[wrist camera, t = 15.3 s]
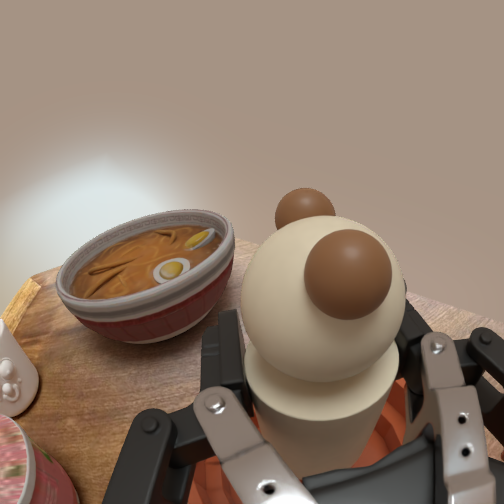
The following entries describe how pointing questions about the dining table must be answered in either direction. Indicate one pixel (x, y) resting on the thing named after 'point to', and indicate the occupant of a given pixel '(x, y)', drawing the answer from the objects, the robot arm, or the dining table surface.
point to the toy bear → (320, 333)
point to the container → (30, 470)
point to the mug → (15, 375)
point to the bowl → (149, 275)
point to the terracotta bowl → (226, 499)
